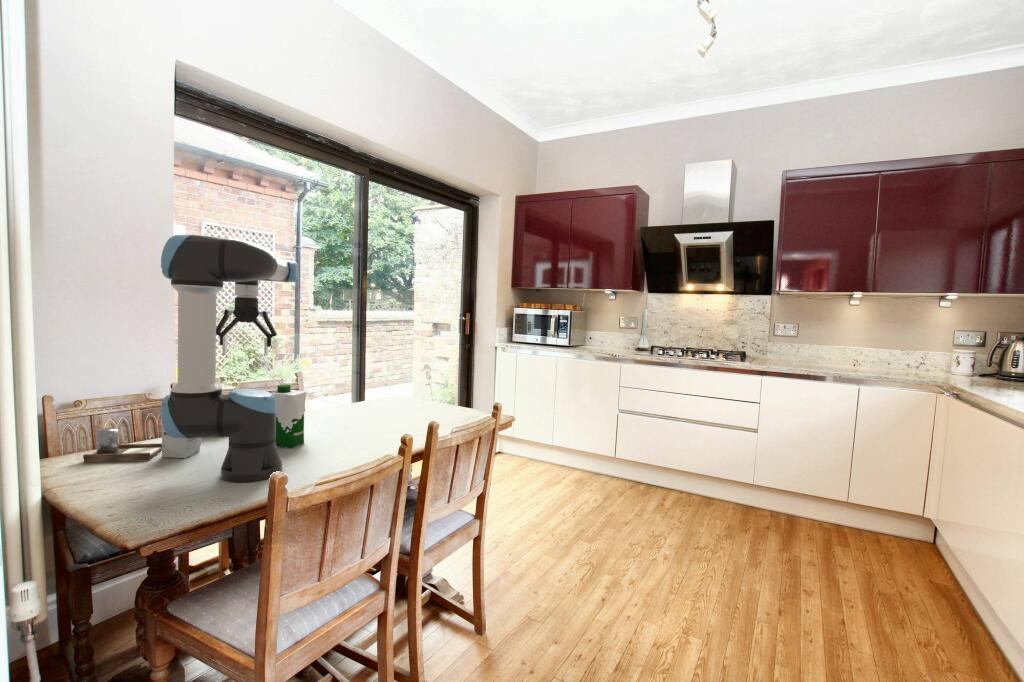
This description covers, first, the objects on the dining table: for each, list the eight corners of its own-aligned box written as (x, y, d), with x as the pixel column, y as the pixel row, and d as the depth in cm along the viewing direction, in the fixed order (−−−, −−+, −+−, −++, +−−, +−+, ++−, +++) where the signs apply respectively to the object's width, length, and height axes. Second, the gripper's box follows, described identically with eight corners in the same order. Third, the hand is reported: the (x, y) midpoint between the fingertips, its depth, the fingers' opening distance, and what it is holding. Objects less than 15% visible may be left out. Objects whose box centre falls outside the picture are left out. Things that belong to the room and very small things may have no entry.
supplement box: (160, 457, 144) (160, 416, 144) (177, 450, 152) (177, 411, 151) (185, 459, 145) (185, 417, 144) (201, 451, 152) (201, 412, 151)
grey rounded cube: (113, 455, 141) (113, 431, 141) (92, 455, 140) (92, 431, 139) (122, 450, 146) (121, 427, 146) (102, 450, 145) (102, 427, 144)
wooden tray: (164, 450, 152) (164, 443, 151) (149, 460, 141) (149, 453, 141) (103, 451, 147) (103, 444, 147) (83, 462, 137) (83, 455, 137)
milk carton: (284, 440, 169) (285, 383, 168) (308, 442, 167) (309, 385, 166) (268, 446, 160) (269, 387, 159) (293, 449, 159) (294, 389, 158)
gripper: (285, 298, 183) (284, 354, 184) (211, 295, 176) (210, 353, 177) (281, 298, 176) (280, 356, 177) (204, 294, 169) (203, 355, 170)
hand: (245, 355), depth 177 cm, fingers open, 13 cm apart
